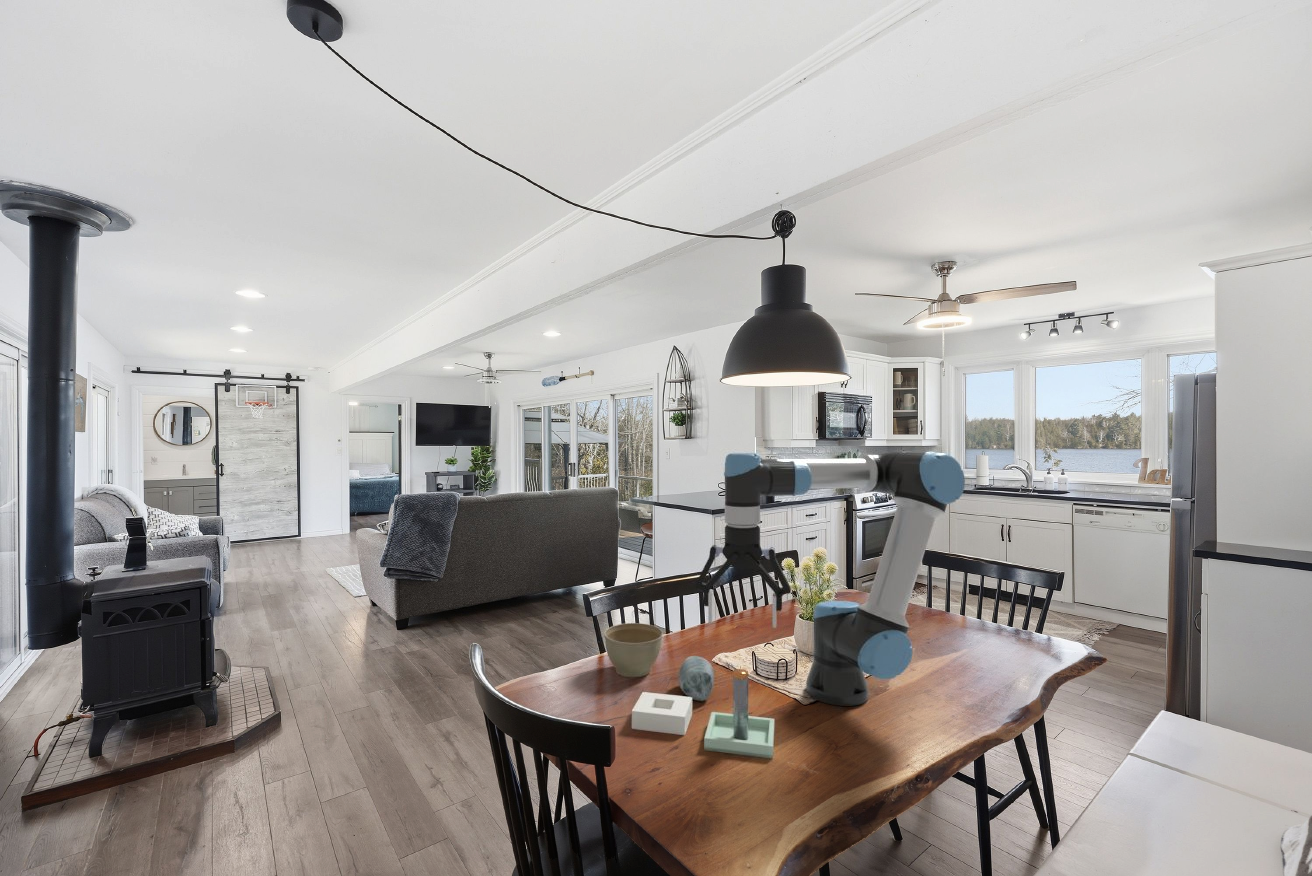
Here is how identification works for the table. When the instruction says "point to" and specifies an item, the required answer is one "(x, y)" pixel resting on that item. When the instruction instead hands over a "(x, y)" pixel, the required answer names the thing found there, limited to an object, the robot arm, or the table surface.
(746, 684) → the pin
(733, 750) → the tray
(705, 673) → the blue-grey stone
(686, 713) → the socket block
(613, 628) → the planter bowl
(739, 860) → the table surface
